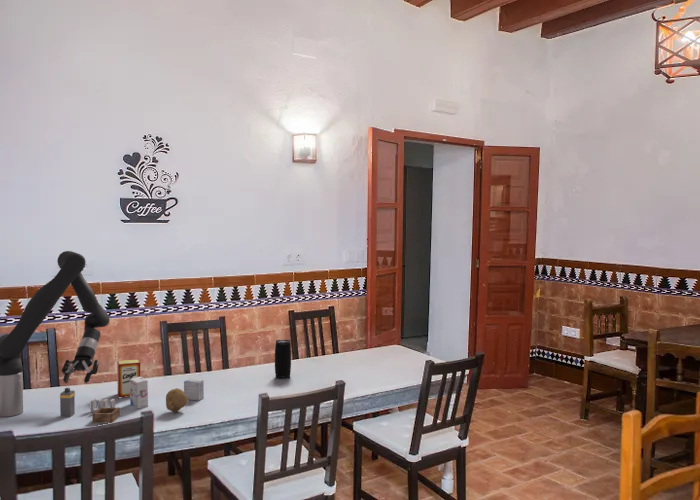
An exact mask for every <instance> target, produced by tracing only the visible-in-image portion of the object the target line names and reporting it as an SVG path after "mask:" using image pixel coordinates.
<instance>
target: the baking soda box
mask: <svg viewBox="0 0 700 500" xmlns="http://www.w3.org/2000/svg"><path fill="white" fill-rule="evenodd" d="M116 363H117V364H116V365H117V367H116V368H117V371H116V372H117V375H116V376H117V397H118V398H119V397H122V398H126V397H125V396H130V379H131V378H136V377H141V361H140V359H130V360H129V359H125V360H119V361H117V362H116Z"/></svg>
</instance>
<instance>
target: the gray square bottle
mask: <svg viewBox="0 0 700 500" xmlns="http://www.w3.org/2000/svg"><path fill="white" fill-rule="evenodd" d="M75 396H76V392H75V390H71V388H70V387H65V388H64V390H63V391H62V392H59V402H60V404H59V407H60V411H59V412H60V414H59V417H60V418H71V417H73V416H74V415H75V414H76V411H75V410H76V408H75V407H76V405H75V404H76V403H75Z"/></svg>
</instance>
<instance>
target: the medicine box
mask: <svg viewBox="0 0 700 500" xmlns="http://www.w3.org/2000/svg"><path fill="white" fill-rule="evenodd" d="M204 384H205V383H204V379H198V378H197V379H196V378H195V379H194V378H187V379H185V380H184V381H183V391H184V393H185V394H186V396H187V398H188V401H201V400H203V399H204V398H205V396H204V394H205V393H204V392H205V391H204V390H205V389H204Z"/></svg>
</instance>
